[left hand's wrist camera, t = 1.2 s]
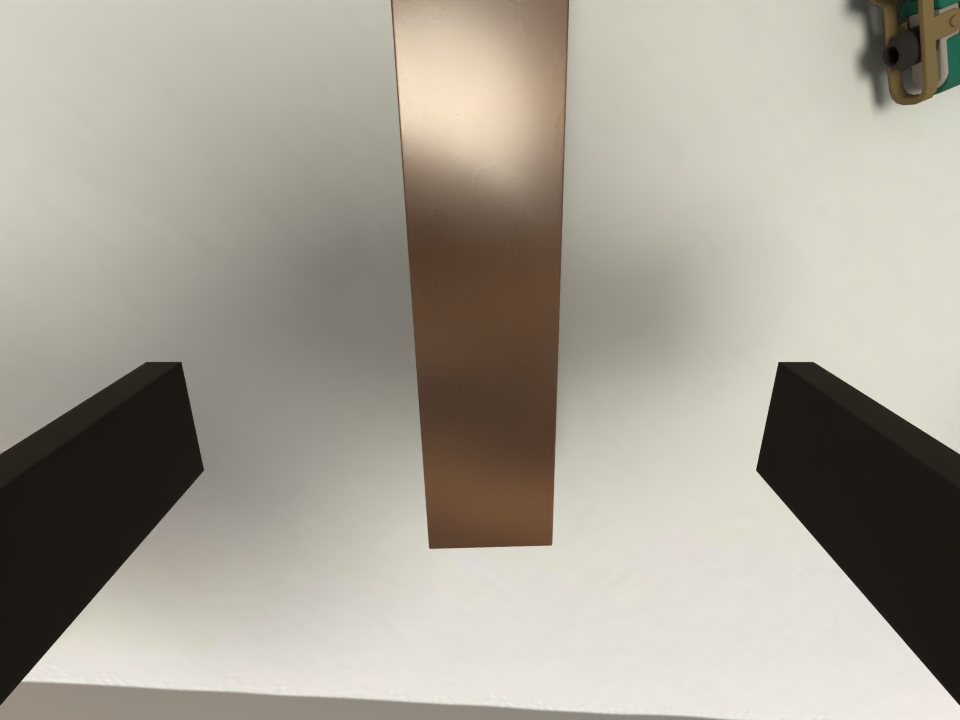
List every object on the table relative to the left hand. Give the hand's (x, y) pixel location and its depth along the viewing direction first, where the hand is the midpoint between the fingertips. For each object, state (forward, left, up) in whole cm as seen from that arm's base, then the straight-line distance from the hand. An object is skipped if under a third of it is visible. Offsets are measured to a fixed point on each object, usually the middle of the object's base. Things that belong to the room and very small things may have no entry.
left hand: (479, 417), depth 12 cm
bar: (-1, +17, -14) cm, 22 cm away
